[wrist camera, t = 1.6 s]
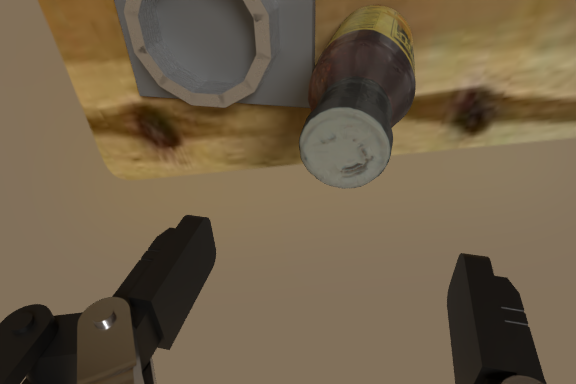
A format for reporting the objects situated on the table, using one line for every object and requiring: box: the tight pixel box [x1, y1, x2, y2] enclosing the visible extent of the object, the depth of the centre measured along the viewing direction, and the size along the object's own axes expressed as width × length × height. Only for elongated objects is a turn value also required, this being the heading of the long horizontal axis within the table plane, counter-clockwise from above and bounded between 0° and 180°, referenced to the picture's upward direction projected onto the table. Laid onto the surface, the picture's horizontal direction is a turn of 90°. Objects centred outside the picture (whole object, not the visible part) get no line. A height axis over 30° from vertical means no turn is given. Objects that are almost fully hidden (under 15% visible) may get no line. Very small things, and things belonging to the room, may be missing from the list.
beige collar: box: [124, 0, 280, 108], centre depth 33 cm, size 12×12×3 cm
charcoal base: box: [114, 0, 315, 108], centre depth 34 cm, size 18×14×1 cm
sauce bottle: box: [299, 5, 415, 188], centre depth 25 cm, size 7×6×20 cm
